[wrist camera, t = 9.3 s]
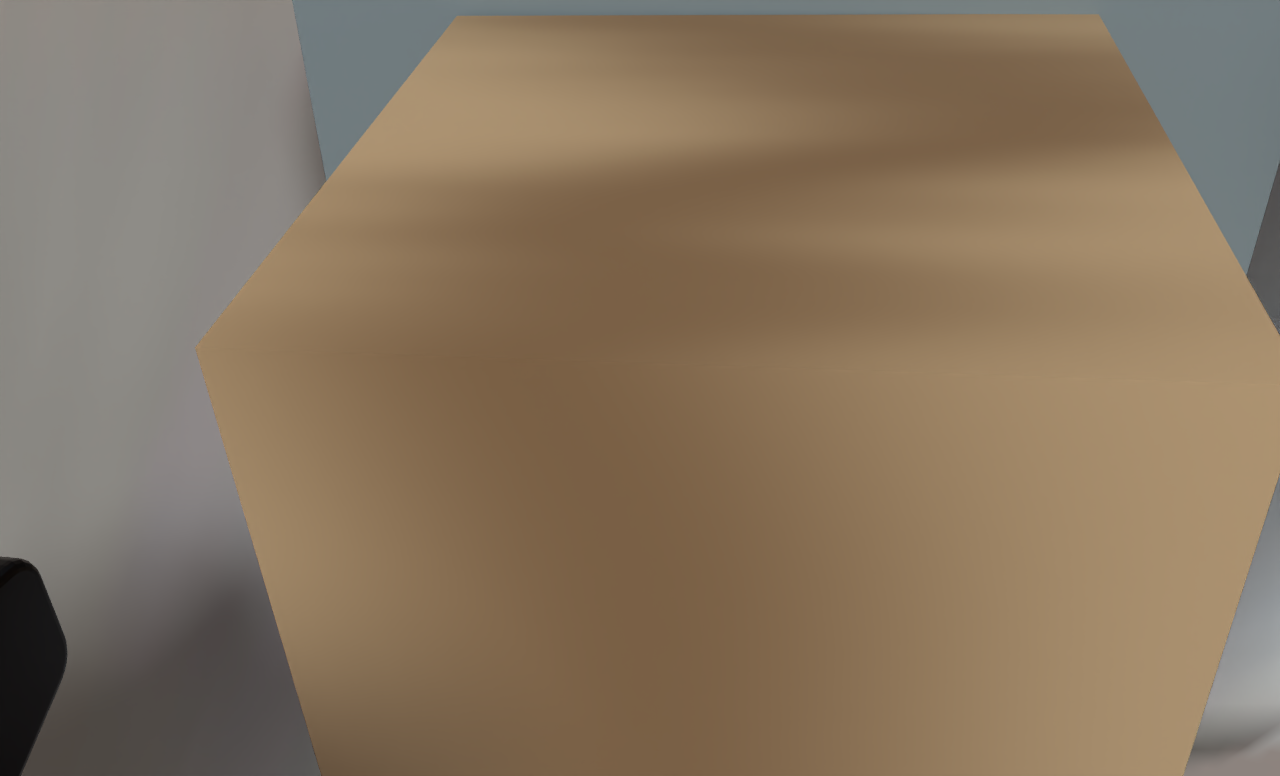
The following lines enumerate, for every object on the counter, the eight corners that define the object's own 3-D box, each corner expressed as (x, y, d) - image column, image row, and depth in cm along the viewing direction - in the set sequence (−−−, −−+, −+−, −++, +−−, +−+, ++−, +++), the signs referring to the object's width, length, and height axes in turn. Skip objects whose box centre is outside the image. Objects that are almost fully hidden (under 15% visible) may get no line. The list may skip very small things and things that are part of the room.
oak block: (1098, 14, 9) (1307, 385, 5) (1013, 518, 12) (1106, 1016, 8) (457, 16, 10) (195, 348, 6) (518, 494, 13) (370, 943, 9)
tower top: (1266, -272, 11) (1389, -215, 8) (1097, 458, 15) (1142, 635, 13) (380, -261, 12) (251, -209, 9) (469, 416, 16) (399, 572, 14)
